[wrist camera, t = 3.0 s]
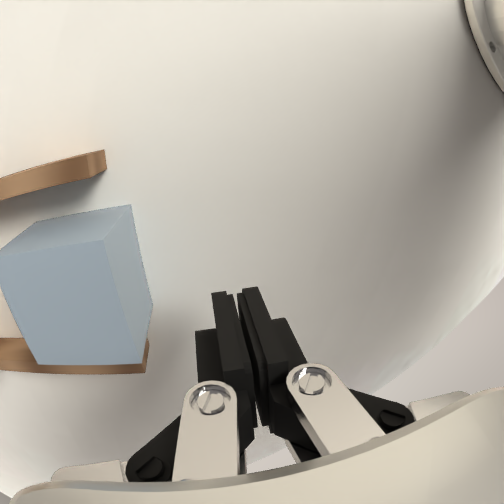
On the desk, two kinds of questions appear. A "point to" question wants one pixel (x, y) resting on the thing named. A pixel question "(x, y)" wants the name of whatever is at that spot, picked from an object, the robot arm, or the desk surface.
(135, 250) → the blue-grey cube
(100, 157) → the bay
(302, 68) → the desk surface
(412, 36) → the desk surface
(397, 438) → the robot arm
